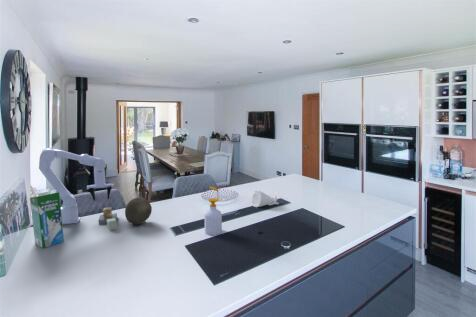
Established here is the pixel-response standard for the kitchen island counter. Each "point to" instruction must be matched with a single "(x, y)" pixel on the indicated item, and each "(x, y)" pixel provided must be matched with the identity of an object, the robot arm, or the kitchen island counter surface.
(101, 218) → the slate base
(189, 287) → the kitchen island counter surface
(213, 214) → the soap bottle
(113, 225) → the sage block
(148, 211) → the cantaloupe
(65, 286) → the kitchen island counter surface
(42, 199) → the milk carton
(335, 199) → the kitchen island counter surface
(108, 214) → the oak block
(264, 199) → the rocket engine
